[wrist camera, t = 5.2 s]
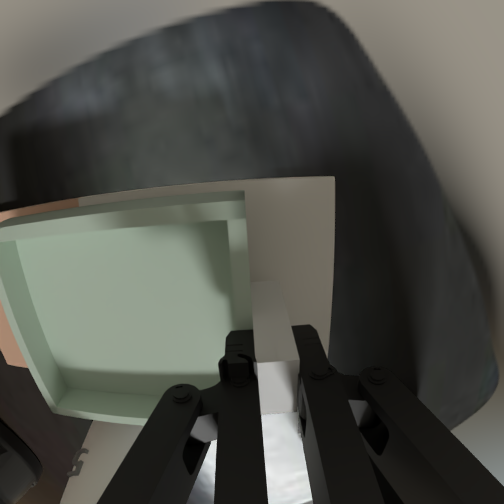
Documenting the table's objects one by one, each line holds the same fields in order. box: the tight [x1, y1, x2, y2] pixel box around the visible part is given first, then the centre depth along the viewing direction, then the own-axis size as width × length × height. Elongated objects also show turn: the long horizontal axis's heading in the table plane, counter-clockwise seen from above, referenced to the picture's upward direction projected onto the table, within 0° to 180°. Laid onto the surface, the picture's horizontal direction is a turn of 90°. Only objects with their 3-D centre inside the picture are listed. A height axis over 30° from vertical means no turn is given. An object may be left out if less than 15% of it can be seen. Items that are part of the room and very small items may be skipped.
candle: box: [60, 420, 144, 504], centre depth 16 cm, size 6×6×15 cm
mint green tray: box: [0, 190, 253, 426], centre depth 16 cm, size 13×12×4 cm
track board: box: [0, 176, 335, 368], centre depth 18 cm, size 26×13×1 cm, turn 93°
